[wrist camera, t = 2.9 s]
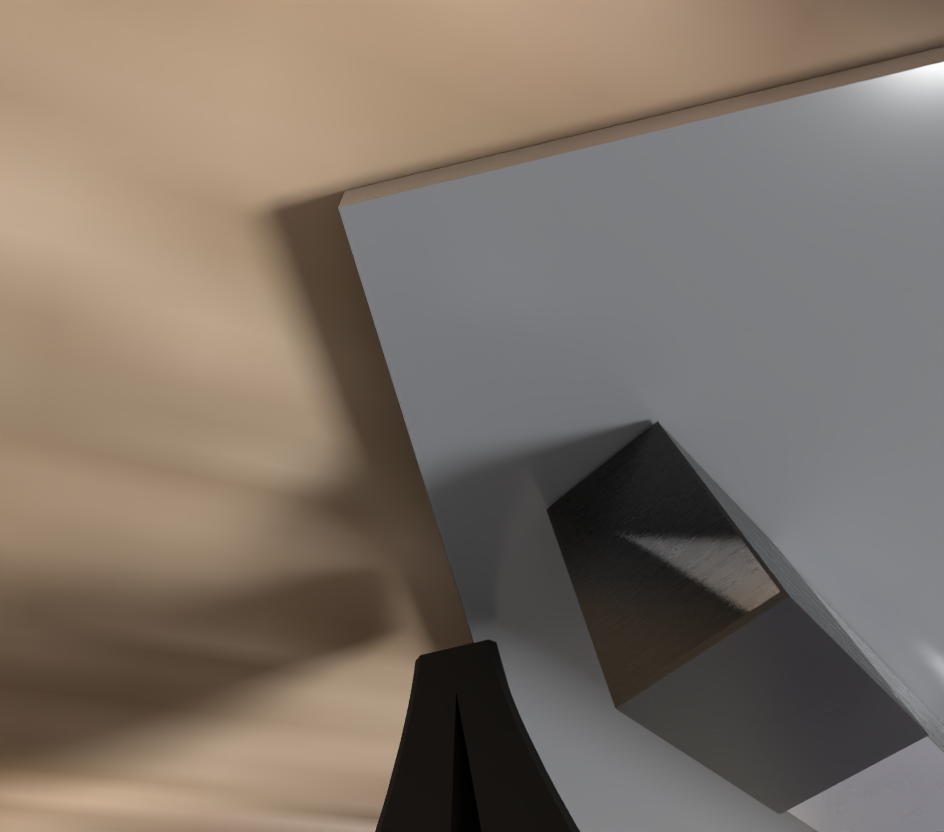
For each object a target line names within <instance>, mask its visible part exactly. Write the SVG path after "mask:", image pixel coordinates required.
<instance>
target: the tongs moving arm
mask: <svg viewBox="0 0 944 832" xmlns="http://www.w3.org/2000/svg"><path fill="white" fill-rule="evenodd" d="M546 510H547V513H548V516H549V519H550V522H551V525H552V527H553V530H554V533H555V536H556V539H557V542H558V545H559V548H560V551H561V553H562V556H563V559H564V562H565V565H566V568H567V571H568V574H569V576H570V579H571V582H572V585H573V588H574V591H575V594H576V597H577V599H578V602H579V605H580V608H581V611H582V614H583V617H584V620H585V622H586V625H587V628H588V631H589V634H590V637H591V640H592V643H593V645H594V648H595V651H596V654H597V657H598V660H599V663H600V666H601V668H602V671H603V674H604V677H605V680H606V683H607V686H608V689H609V692H610V694H611V697H612V700H613V703H614V706H615V709H617V710H618V711H620V712H621V713H623V714H625V715H626V716H628V717H629V718H631V719H632V720H634V721H635V722H637V723H638V724H640V725H642V726H643V727H645V728H646V729H648V730H649V731H651V732H652V733H654V734H655V735H657V736H659V737H660V738H662V739H663V740H665V741H666V742H668V743H669V744H671V745H672V746H674V747H676V748H677V749H679V750H680V751H682V752H683V753H685V754H686V755H688V756H690V757H691V758H693V759H694V760H696V761H697V762H699V763H700V764H702V765H703V766H705V767H707V768H708V769H710V770H711V771H713V772H714V773H716V774H717V775H719V776H720V777H722V778H724V779H725V780H727V781H728V782H730V783H731V784H733V785H734V786H736V787H737V788H739V789H741V790H742V791H744V792H745V793H747V794H748V795H750V796H751V797H753V798H755V799H756V800H758V801H759V802H761V803H762V804H764V805H765V806H767V807H768V808H770V809H772V810H773V811H775V812H776V813H778V814H779V815H780V814H782V813H784V812H785V811H788V812H789V813H791V814H792V815H794V816H795V817H797V818H798V819H800V820H801V821H803V822H804V823H806V824H807V825H809V826H810V827H812V828H813V829H815V830H816V831H818V832H944V725H943V724H942V723H941V722H940V721H939V720H938V719H937V718H936V717H935V716H934V715H933V714H932V713H931V711H930V710H929V709H928V708H927V707H926V706H925V705H924V704H923V703H922V702H921V701H920V700H919V699H918V698H917V697H916V696H915V695H914V694H913V693H912V692H911V691H910V689H909V688H908V687H907V686H906V685H905V684H904V683H903V682H902V681H901V680H900V679H899V678H898V677H897V676H896V675H895V674H894V673H893V672H892V671H891V670H890V669H889V668H888V666H887V665H886V664H885V663H884V662H883V661H882V660H881V659H880V658H879V657H878V656H877V655H876V654H875V653H874V652H873V651H872V650H871V649H870V648H869V647H868V646H867V645H866V643H865V642H864V641H863V640H862V639H861V638H860V637H859V636H858V635H857V634H856V633H855V632H854V631H853V630H852V629H851V628H850V627H849V626H848V625H847V624H846V623H845V621H844V620H843V619H842V618H841V617H840V616H839V615H838V614H837V613H836V612H835V611H834V610H833V609H832V608H831V607H830V606H829V605H828V604H827V603H826V602H825V601H824V600H823V598H822V597H821V596H820V595H819V594H818V593H817V592H816V591H815V590H814V589H813V588H812V587H811V586H810V585H809V584H808V583H807V582H806V581H805V580H804V579H803V578H802V576H801V575H800V574H799V573H798V572H797V571H796V570H795V568H794V567H793V566H792V565H791V563H790V562H789V561H788V560H787V558H786V557H785V556H784V555H783V553H782V552H781V551H780V550H779V548H778V547H777V546H776V545H775V544H774V543H773V542H772V541H771V540H770V539H769V538H768V537H767V536H766V535H765V534H764V533H763V532H762V531H761V529H760V528H759V527H758V526H757V525H756V524H755V523H754V522H753V521H752V520H751V519H750V518H749V517H748V516H747V515H746V514H745V513H744V512H743V511H742V509H741V508H740V507H739V506H738V505H737V504H736V503H735V502H734V501H733V500H732V499H731V498H730V497H729V496H728V495H727V494H726V493H725V492H724V491H723V489H722V488H721V487H720V486H719V485H718V484H717V483H716V482H715V481H714V480H713V479H712V478H711V477H710V476H709V475H708V474H707V473H706V472H705V471H704V469H703V468H702V467H701V466H700V465H699V464H698V463H697V462H696V461H695V460H694V459H693V458H692V457H691V456H690V455H689V454H688V453H687V452H686V451H685V449H684V448H683V447H682V446H681V445H680V444H679V443H678V442H677V441H676V440H675V439H674V438H673V437H672V436H671V435H670V434H669V433H668V432H667V431H666V429H665V428H664V427H663V426H662V425H661V424H660V423H659V422H658V421H657V422H656V423H654V424H653V425H652V426H651V427H649V428H648V429H647V430H646V431H644V432H643V433H642V434H641V435H639V436H638V437H637V438H636V439H634V440H633V441H632V442H631V443H629V444H628V445H627V446H626V447H624V448H623V449H622V450H620V451H619V452H618V453H617V454H615V455H614V456H613V457H612V458H610V459H609V460H608V461H607V462H605V463H604V464H603V465H602V466H600V467H599V468H598V469H597V470H595V471H594V472H593V473H592V474H590V475H589V476H588V477H586V478H585V479H584V480H583V481H581V482H580V483H579V484H578V485H576V486H575V487H574V488H573V489H571V490H570V491H569V492H568V493H566V494H565V495H564V496H563V497H561V498H560V499H559V500H558V501H556V502H555V503H554V504H552V505H551V506H550V507H549V508H547V509H546Z"/></svg>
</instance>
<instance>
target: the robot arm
mask: <svg viewBox="0 0 944 832" xmlns="http://www.w3.org/2000/svg"><path fill="white" fill-rule="evenodd" d="M375 832H580V830H579V829H578V827H577V825H576V824H575V822H574V820H573V818H572V816H571V815H570V813H569V811H568V809H567V808H566V806H565V804H564V802H563V800H562V799H561V797H560V795H559V793H558V791H557V790H556V788H555V786H554V784H553V782H552V780H551V778H550V776H549V774H548V773H547V771H546V769H545V767H544V765H543V763H542V761H541V758H540V756H539V754H538V752H537V750H536V748H535V746H534V744H533V742H532V740H531V738H530V736H529V734H528V732H527V730H526V728H525V725H524V723H523V721H522V719H521V716H520V714H519V712H518V709H517V707H516V704H515V702H514V699H513V697H512V695H511V692H510V688H509V685H508V681H507V678H506V674H505V671H504V667H503V664H502V660H501V657H500V653H499V650H498V646H497V643H496V642H494V641H492V640H490V639H488V640H484V641H479V642H475V643H471V644H467V645H462V646H458V647H454V648H450V649H446V650H441V651H437V652H433V653H429V654H424V655H420V656H419V658H418V659H417V660H416V662H415V669H414V677H413V683H412V689H411V695H410V700H409V705H408V710H407V715H406V719H405V724H404V728H403V733H402V737H401V741H400V746H399V749H398V753H397V757H396V761H395V765H394V768H393V772H392V776H391V780H390V784H389V787H388V791H387V795H386V798H385V802H384V805H383V808H382V812H381V815H380V818H379V821H378V824H377V828H376V831H375Z"/></svg>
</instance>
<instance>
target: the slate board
mask: <svg viewBox="0 0 944 832" xmlns="http://www.w3.org/2000/svg"><path fill="white" fill-rule="evenodd" d="M338 209H339V212H340V215H341V219H342V222H343V225H344V228H345V231H346V235H347V238H348V241H349V244H350V247H351V251H352V254H353V257H354V260H355V263H356V267H357V270H358V273H359V276H360V279H361V283H362V286H363V289H364V292H365V295H366V299H367V302H368V305H369V308H370V311H371V315H372V318H373V321H374V324H375V328H376V331H377V334H378V337H379V340H380V344H381V347H382V350H383V353H384V356H385V360H386V363H387V366H388V369H389V372H390V376H391V379H392V382H393V385H394V388H395V392H396V395H397V398H398V401H399V404H400V408H401V411H402V414H403V417H404V420H405V424H406V427H407V430H408V433H409V436H410V440H411V443H412V446H413V449H414V452H415V456H416V459H417V462H418V465H419V468H420V472H421V475H422V478H423V481H424V484H425V488H426V491H427V494H428V497H429V500H430V504H431V507H432V510H433V513H434V516H435V520H436V523H437V526H438V529H439V532H440V536H441V539H442V542H443V545H444V548H445V552H446V555H447V558H448V561H449V564H450V568H451V571H452V574H453V577H454V580H455V584H456V587H457V590H458V593H459V596H460V600H461V603H462V606H463V609H464V612H465V616H466V619H467V622H468V625H469V628H470V632H471V635H472V638H473V641H474V643H475V642H479V641H484V640H488V639H490V640H492V641H494V642H496V643H497V646H498V650H499V653H500V657H501V660H502V664H503V667H504V671H505V674H506V678H507V681H508V685H509V688H510V692H511V695H512V697H513V699H514V702H515V704H516V707H517V709H518V712H519V714H520V716H521V719H522V721H523V723H524V725H525V728H526V730H527V732H528V734H529V736H530V738H531V740H532V742H533V744H534V746H535V748H536V750H537V752H538V754H539V756H540V758H541V761H542V763H543V765H544V767H545V769H546V771H547V773H548V774H549V776H550V778H551V780H552V782H553V784H554V786H555V788H556V790H557V791H558V793H559V795H560V797H561V799H562V800H563V802H564V804H565V806H566V808H567V809H568V811H569V813H570V815H571V816H572V818H573V820H574V822H575V824H576V825H577V827H578V829H579V830H580V832H818V831H816V830H815V829H813V828H812V827H810V826H809V825H807V824H806V823H804V822H803V821H801V820H800V819H798V818H797V817H795V816H794V815H792V814H791V813H789V812H788V811H785V812H784V813H782V814H780V815H779V814H778V813H776V812H775V811H773V810H772V809H770V808H768V807H767V806H765V805H764V804H762V803H761V802H759V801H758V800H756V799H755V798H753V797H751V796H750V795H748V794H747V793H745V792H744V791H742V790H741V789H739V788H737V787H736V786H734V785H733V784H731V783H730V782H728V781H727V780H725V779H724V778H722V777H720V776H719V775H717V774H716V773H714V772H713V771H711V770H710V769H708V768H707V767H705V766H703V765H702V764H700V763H699V762H697V761H696V760H694V759H693V758H691V757H690V756H688V755H686V754H685V753H683V752H682V751H680V750H679V749H677V748H676V747H674V746H672V745H671V744H669V743H668V742H666V741H665V740H663V739H662V738H660V737H659V736H657V735H655V734H654V733H652V732H651V731H649V730H648V729H646V728H645V727H643V726H642V725H640V724H638V723H637V722H635V721H634V720H632V719H631V718H629V717H628V716H626V715H625V714H623V713H621V712H620V711H618V710H617V709H615V706H614V703H613V700H612V697H611V694H610V692H609V689H608V686H607V683H606V680H605V677H604V674H603V671H602V668H601V666H600V663H599V660H598V657H597V654H596V651H595V648H594V645H593V643H592V640H591V637H590V634H589V631H588V628H587V625H586V622H585V620H584V617H583V614H582V611H581V608H580V605H579V602H578V599H577V597H576V594H575V591H574V588H573V585H572V582H571V579H570V576H569V574H568V571H567V568H566V565H565V562H564V559H563V556H562V553H561V551H560V548H559V545H558V542H557V539H556V536H555V533H554V530H553V527H552V525H551V522H550V519H549V516H548V513H547V510H546V509H547V508H549V507H550V506H551V505H552V504H554V503H555V502H556V501H558V500H559V499H560V498H561V497H563V496H564V495H565V494H566V493H568V492H569V491H570V490H571V489H573V488H574V487H575V486H576V485H578V484H579V483H580V482H581V481H583V480H584V479H585V478H586V477H588V476H589V475H590V474H592V473H593V472H594V471H595V470H597V469H598V468H599V467H600V466H602V465H603V464H604V463H605V462H607V461H608V460H609V459H610V458H612V457H613V456H614V455H615V454H617V453H618V452H619V451H620V450H622V449H623V448H624V447H626V446H627V445H628V444H629V443H631V442H632V441H633V440H634V439H636V438H637V437H638V436H639V435H641V434H642V433H643V432H644V431H646V430H647V429H648V428H649V427H651V426H652V425H653V424H654V423H656V422H657V421H658V422H659V423H660V424H661V425H662V426H663V427H664V428H665V429H666V431H667V432H668V433H669V434H670V435H671V436H672V437H673V438H674V439H675V440H676V441H677V442H678V443H679V444H680V445H681V446H682V447H683V448H684V449H685V451H686V452H687V453H688V454H689V455H690V456H691V457H692V458H693V459H694V460H695V461H696V462H697V463H698V464H699V465H700V466H701V467H702V468H703V469H704V471H705V472H706V473H707V474H708V475H709V476H710V477H711V478H712V479H713V480H714V481H715V482H716V483H717V484H718V485H719V486H720V487H721V488H722V489H723V491H724V492H725V493H726V494H727V495H728V496H729V497H730V498H731V499H732V500H733V501H734V502H735V503H736V504H737V505H738V506H739V507H740V508H741V509H742V511H743V512H744V513H745V514H746V515H747V516H748V517H749V518H750V519H751V520H752V521H753V522H754V523H755V524H756V525H757V526H758V527H759V528H760V529H761V531H762V532H763V533H764V534H765V535H766V536H767V537H768V538H769V539H770V540H771V541H772V542H773V543H774V544H775V545H776V546H777V547H778V548H779V550H780V551H781V552H782V553H783V555H784V556H785V557H786V558H787V560H788V561H789V562H790V563H791V565H792V566H793V567H794V568H795V570H796V571H797V572H798V573H799V574H800V575H801V576H802V578H803V579H804V580H805V581H806V582H807V583H808V584H809V585H810V586H811V587H812V588H813V589H814V590H815V591H816V592H817V593H818V594H819V595H820V596H821V597H822V598H823V600H824V601H825V602H826V603H827V604H828V605H829V606H830V607H831V608H832V609H833V610H834V611H835V612H836V613H837V614H838V615H839V616H840V617H841V618H842V619H843V620H844V621H845V623H846V624H847V625H848V626H849V627H850V628H851V629H852V630H853V631H854V632H855V633H856V634H857V635H858V636H859V637H860V638H861V639H862V640H863V641H864V642H865V643H866V645H867V646H868V647H869V648H870V649H871V650H872V651H873V652H874V653H875V654H876V655H877V656H878V657H879V658H880V659H881V660H882V661H883V662H884V663H885V664H886V665H887V666H888V668H889V669H890V670H891V671H892V672H893V673H894V674H895V675H896V676H897V677H898V678H899V679H900V680H901V681H902V682H903V683H904V684H905V685H906V686H907V687H908V688H909V689H910V691H911V692H912V693H913V694H914V695H915V696H916V697H917V698H918V699H919V700H920V701H921V702H922V703H923V704H924V705H925V706H926V707H927V708H928V709H929V710H930V711H931V713H932V714H933V715H934V716H935V717H936V718H937V719H938V720H939V721H940V722H941V723H942V724H943V725H944V47H940V48H936V49H932V50H928V51H924V52H920V53H915V54H911V55H907V56H903V57H899V58H895V59H890V60H886V61H882V62H878V63H874V64H870V65H866V66H861V67H857V68H853V69H849V70H845V71H841V72H837V73H832V74H828V75H824V76H820V77H816V78H812V79H808V80H803V81H799V82H795V83H791V84H787V85H783V86H778V87H774V88H770V89H766V90H762V91H758V92H754V93H749V94H745V95H741V96H737V97H733V98H729V99H725V100H720V101H716V102H712V103H708V104H704V105H700V106H695V107H691V108H687V109H683V110H679V111H675V112H671V113H666V114H662V115H658V116H654V117H650V118H646V119H642V120H637V121H633V122H629V123H625V124H621V125H617V126H612V127H608V128H604V129H600V130H596V131H592V132H588V133H583V134H579V135H575V136H571V137H567V138H563V139H559V140H554V141H550V142H546V143H542V144H538V145H534V146H530V147H525V148H521V149H517V150H513V151H509V152H505V153H500V154H496V155H492V156H488V157H484V158H480V159H476V160H471V161H467V162H463V163H459V164H455V165H451V166H447V167H442V168H438V169H434V170H430V171H426V172H422V173H417V174H413V175H409V176H405V177H401V178H397V179H393V180H388V181H384V182H380V183H376V184H372V185H368V186H364V187H359V188H355V189H351V190H347V191H345V192H344V195H343V197H342V199H341V202H340V204H339V207H338Z"/></svg>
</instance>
